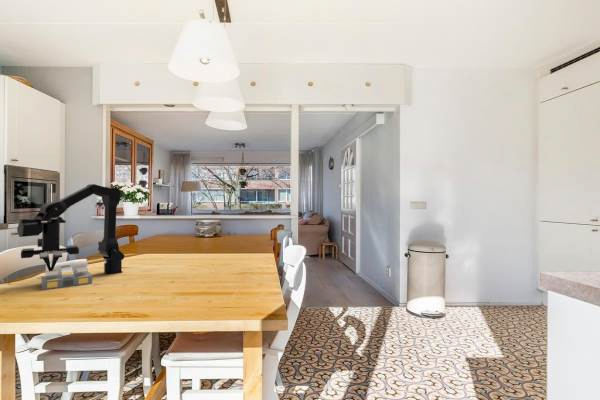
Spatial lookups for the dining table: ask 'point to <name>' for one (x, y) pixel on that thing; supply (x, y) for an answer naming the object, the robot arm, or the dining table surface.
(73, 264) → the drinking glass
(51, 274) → the switch
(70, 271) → the switch
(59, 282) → the pill organizer box
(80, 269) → the switch
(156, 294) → the dining table surface
